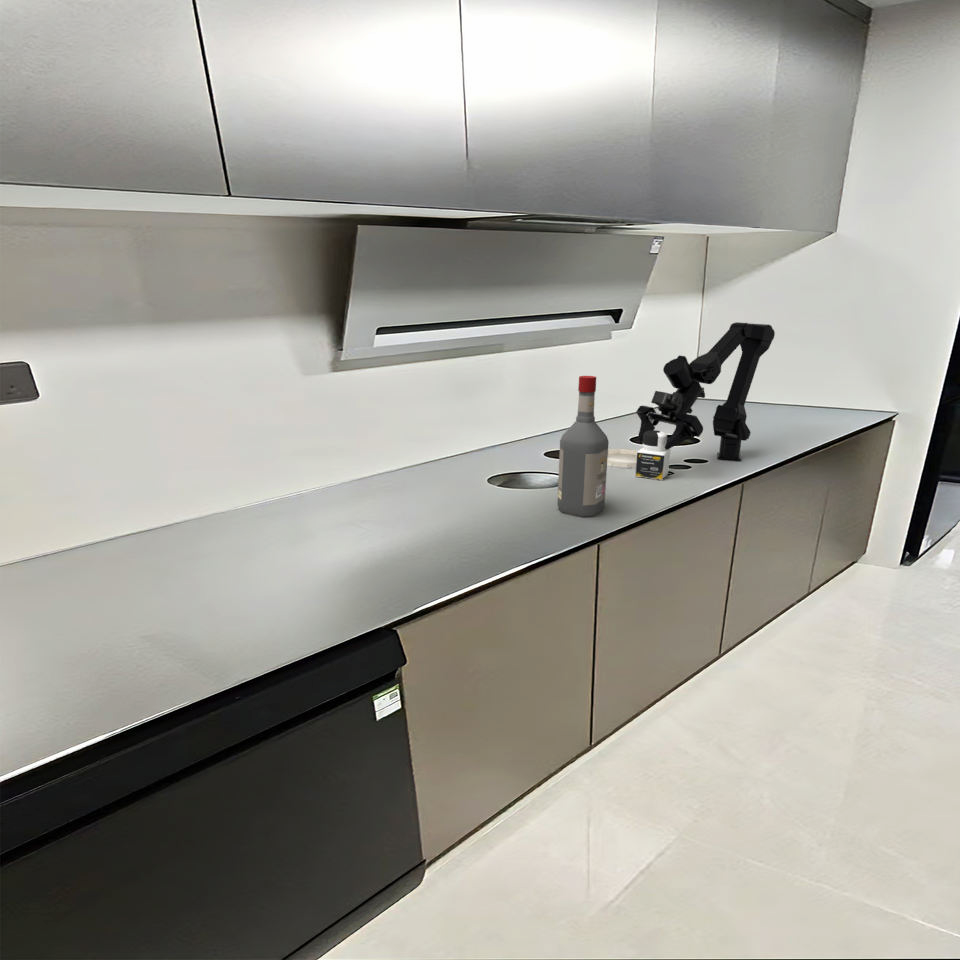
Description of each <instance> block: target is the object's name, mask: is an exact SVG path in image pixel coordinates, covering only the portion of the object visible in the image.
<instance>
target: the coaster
mask: <svg viewBox="0 0 960 960" xmlns="http://www.w3.org/2000/svg"><path fill="white" fill-rule="evenodd" d="M637 451H638V450H637V449H629V448H627V449H626V448H608V459H607V465H610V466H620V467H636V462H637ZM610 466H609V467H610Z"/></svg>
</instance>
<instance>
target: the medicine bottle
mask: <svg viewBox="0 0 960 960" xmlns="http://www.w3.org/2000/svg"><path fill="white" fill-rule="evenodd" d="M667 441H668V434H667V433H666V432H664V431H661V430H656V429H654V430H650V431H646V432H645V433H644V434H643V441H642V447H641V448H640V449H639V450H637V462H636V468H635V477H636V476H638V477H637V478H640V477H645V478H644V479H647V478H652V479H651V480H655V479H659V480H658V481H663V480H664V479H665V478H664V477H667V476H668V474H669V470H670V469H669V468H670V457H671V448H670V449H668V450H666V449H665V445H666V443H667ZM663 478H664V479H663Z"/></svg>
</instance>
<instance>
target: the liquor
mask: <svg viewBox="0 0 960 960" xmlns="http://www.w3.org/2000/svg"><path fill="white" fill-rule="evenodd" d="M596 389H597V376H593V375H581V376H579V377H578V400H577V401H578V405H577V415H576V417H575V421H574V423H572V425H570V427H569V428H568V429H567V430H566V431H565V432H564V433H563V434H562V436H560V437H561V438H560V439H559V455H558V456H559V458H558V483H557V507H558V509H559V510H560V511H561V512H562V513H563V514H567V515H571V516H576V517H580V518H589V517H591V518H592V517H594V516H596V515H598V514H599V513H600V512H602V511H603V510H604V509H605V504H606V503H605V501H606V489H607V488H606V486H607V470H608V466H607V459H608V449H609V438H608V436H607V435H606V433H605V432H604V431H603V430H602V428H601V427H600V426H599V425H598V424H597V422H596V420H595V419H596V418H595V399H596V398H595V395H596V394H595V393H596Z"/></svg>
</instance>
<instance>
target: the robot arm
mask: <svg viewBox="0 0 960 960" xmlns="http://www.w3.org/2000/svg"><path fill="white" fill-rule="evenodd" d="M775 334H776V333H775V330H774V328H773V326H772V325H771V324H766V323H765V324H764V323H749V322H739V321H738V322H733V323H731V324H730V326H729V329H728V330H727V331H726V332H725V333H724V334H723V335H722V336H721V338H720V339H719V340H718V341H717V342H716V343H715V344H714V345H713V346H712V348H710V349H709V350H708V351H707V352H706V353H704V354H701V355H699V356H697V357H696V358H694V359H693V360H692V361H691V362H690V363H689V361H688V359H687V357H686V355H678V356H677V357H676V358H674V359H671V360H670V361H668V362H667V363H665V364H664V366H663V370H662V371H663V374H664V375H665V377H666V378H667V379H668V381H669V383H670V384H671V386H672V387H673V388H674V389H676V391H673V393H668V392H664V391H660V390H659V391H657V390H655V391H654V394H653V397H652V399H651V401H650V402H651V403H652V404H655V405H657V406H658V407H657V409H658V411H659V412H661V413H658V412H657V411H656V410H655V409H654V407H653V406H648V405H640V406H639V407H638V408H637V409H636V411H635V413H636V414H637V416H638V418H639V419H640V427H639V432H638V436H637V439H636V441H637V442H638V444H640V443H643V434H644V433H645V432H646V431H650V430H656V426H658V425H659V423H666V424H669V425H673V426H675V429H674V431H673V432H672V434H671V435H670V437H669V439H667V443H666V445H665V449H666V450H668V449H670V450H671V449H672V448H673V447H675V446H677V445H679V444H681V443H683V442H685V441H688V440H690V439H694V438H695V437H698V438H699V437H701V435H702V433H703V431H704V425H703V424H702V422H701V421H700V419H699V418H698V415H694V414H692V412H693V411H694V410H693V409H692V407H693V405H694V404H695V402H696V401H697V400H698V398H702V399H705V398H706V393H705V388H704V387H702V385H701V384H704V385H705V384H706V385H712V384H713V383H714V382H716V380H717V378H718V377H719V376H720V374H721V372H722V365H723V364H724V362H725V361H726V360H727V359H728V358H729V357H730V356H731V355H732V354H733V353H734V351H735V350H737V348H738V347H739V346H740V350H741V356H740V359H739V362H738V365H737V367H736V371H735V374H734V377H733V380H732V384H731V387H730V390H729V392H728V395H727V399H726V401H724V402H723V404H718V405H717V406H716V408H715V413H714V414H713V416H712V419H713V420H712V426H713V428H712V429H713V435H714V436H715V437H720V443H719V452H717V453H716V456H717V458H716V459H717V460H728V461H736V462H737V461H738V462H739V461H742V456H741V454H740V453H741V447H742V441H744V442H745V441H747V440H749V439H750V436H751V430H750V428H749V426H748V425H747V423H746V422H747V421H746V420H747V417H748V415H747V412H746V408H745V403H746V401H747V398H748V395H749V392H750V389H751V385H752V383H753V379H754V376H755V373H756V371H757V367H758V364H759V361H760V358H761V357H762V355H764V354H765V353H766V352H767V351H768V350H769V349H770V348H771V347H770V346H771V344H772V343H773V341H774V339H775Z"/></svg>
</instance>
